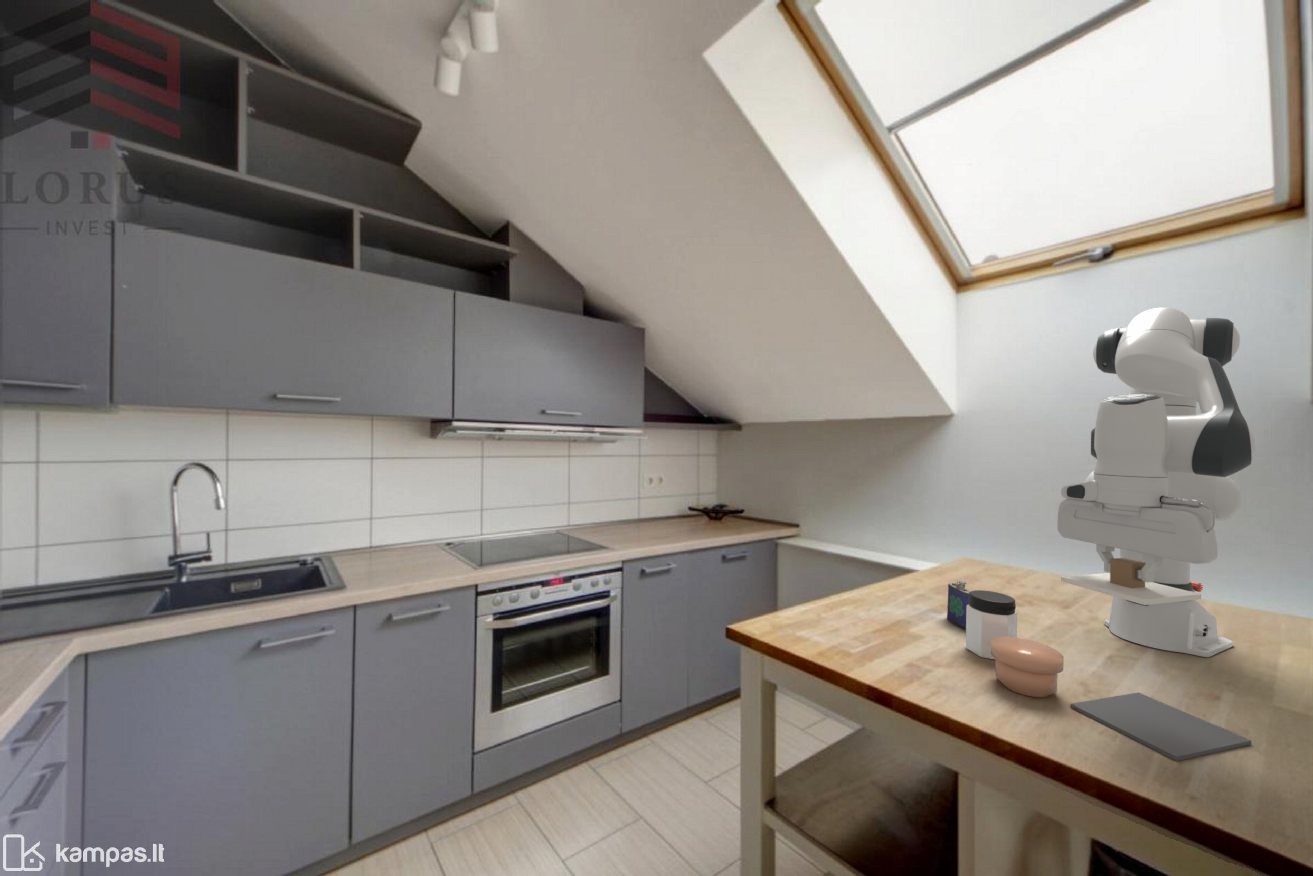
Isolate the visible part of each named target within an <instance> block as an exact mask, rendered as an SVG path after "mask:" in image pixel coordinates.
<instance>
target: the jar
mask: <svg viewBox="0 0 1313 876" xmlns="http://www.w3.org/2000/svg"><path fill="white" fill-rule="evenodd" d="M970 591H971V592H969V604H968V605H967V606H966V630H965V648H966V650H969V651H970V652H972V653H974V654H975V655H977V656H978V657H980V658H983V659H988V658H989V659H988V660H993V659H994V661H996V659H995V658H994V657H993V656H992V655H991V640H992V639H994V638H997V637H1014V638H1018V612H1017V611H1016V606H1017V605H1016V600H1015V598H1013V597H1012V596H1010V595H1008V594H1004V593H1001V592H997V591H991V590H983V589H982V590H975V589H974V590H970Z"/></svg>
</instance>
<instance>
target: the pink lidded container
mask: <svg viewBox="0 0 1313 876" xmlns="http://www.w3.org/2000/svg"><path fill="white" fill-rule="evenodd" d="M991 655H992V656H993V657H994V658H995V659H996V660H995V664H994V665H995V669H994V670H995V671H994V672H995V673H994V674H995V677H996V678H997V680H998V681H999V682H1001V684H1002V685H1003V686H1004V687H1006V688H1007V689H1009V690H1011V691H1012V692H1015V693H1018V694H1020V695H1024V696H1026V697H1032V698H1047V697H1050V695H1055V694H1056V693H1057V691H1058V674H1061V673H1062V672H1064V660H1065V658H1064V655H1063V654H1062V653H1061V652H1060V651H1059V650H1057V649H1056V648H1053V647H1052V646H1048V645H1046V644H1043V643H1040V642H1037V641H1034V640H1029V639H1025V638H1020V637H1017V638H1014V637H997V638H994V639H992V640H991Z"/></svg>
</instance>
